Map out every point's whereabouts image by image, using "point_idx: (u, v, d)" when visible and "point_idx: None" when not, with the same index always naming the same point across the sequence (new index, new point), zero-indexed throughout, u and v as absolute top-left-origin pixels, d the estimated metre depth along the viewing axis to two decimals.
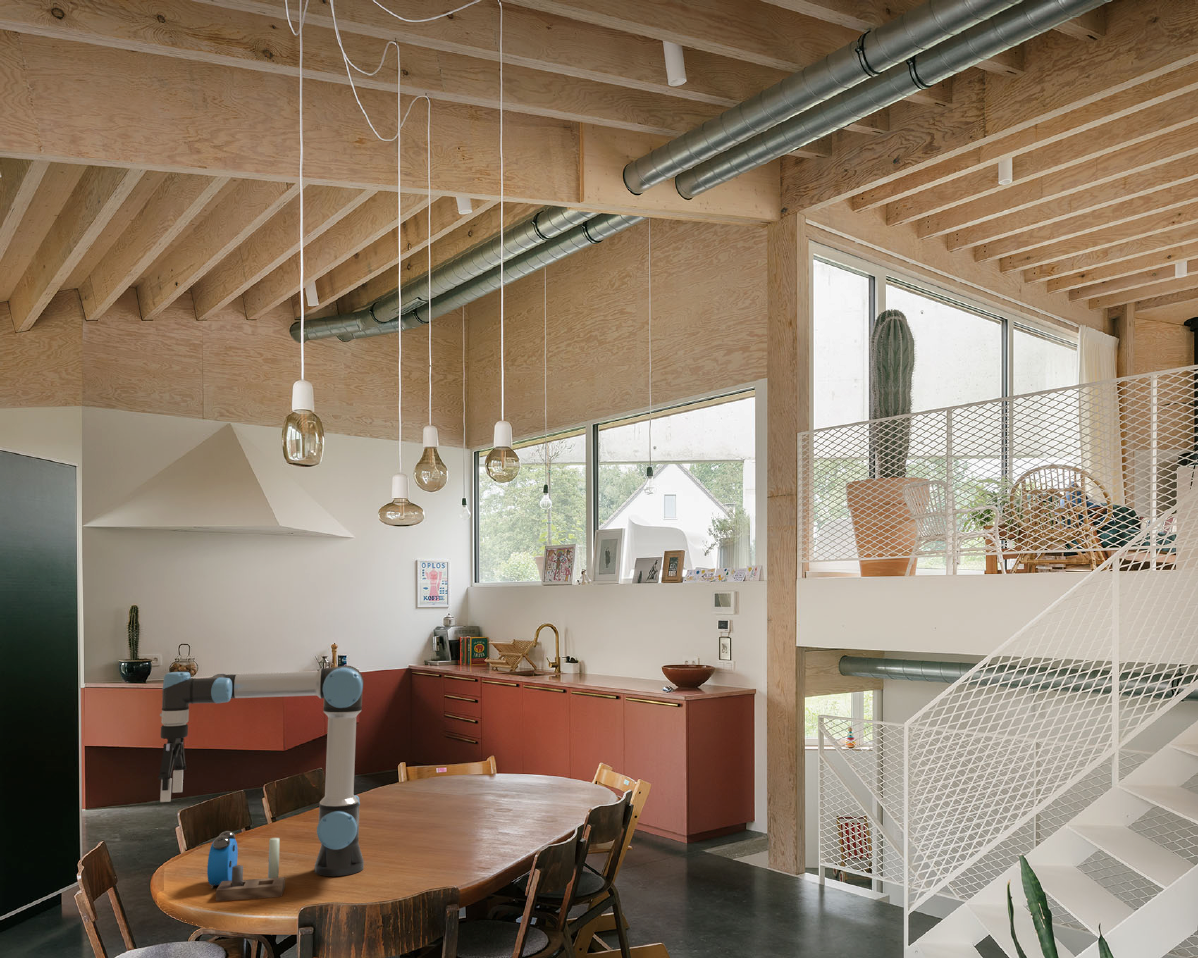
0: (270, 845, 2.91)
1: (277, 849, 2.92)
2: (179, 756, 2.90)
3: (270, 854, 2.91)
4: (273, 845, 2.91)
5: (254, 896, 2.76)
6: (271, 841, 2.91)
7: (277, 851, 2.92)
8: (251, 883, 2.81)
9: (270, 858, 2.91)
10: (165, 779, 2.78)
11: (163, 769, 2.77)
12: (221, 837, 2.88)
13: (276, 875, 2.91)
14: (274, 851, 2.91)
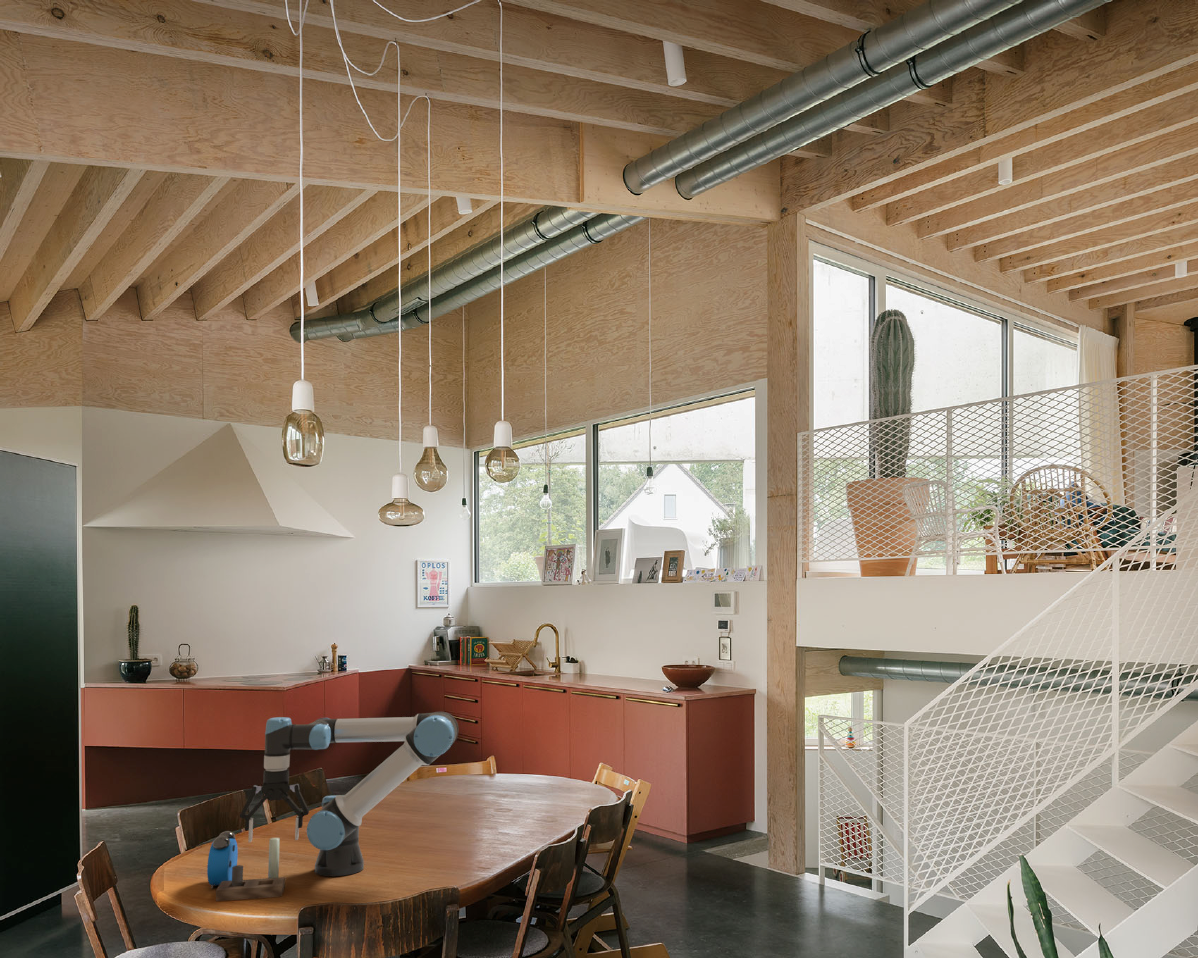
0: (270, 845, 2.91)
1: (277, 849, 2.92)
2: (287, 802, 2.94)
3: (270, 854, 2.91)
4: (273, 845, 2.91)
5: (254, 896, 2.76)
6: (271, 841, 2.91)
7: (277, 851, 2.92)
8: (251, 883, 2.81)
9: (270, 858, 2.91)
10: (245, 819, 2.92)
11: None
12: (221, 837, 2.88)
13: (276, 875, 2.91)
14: (274, 851, 2.91)
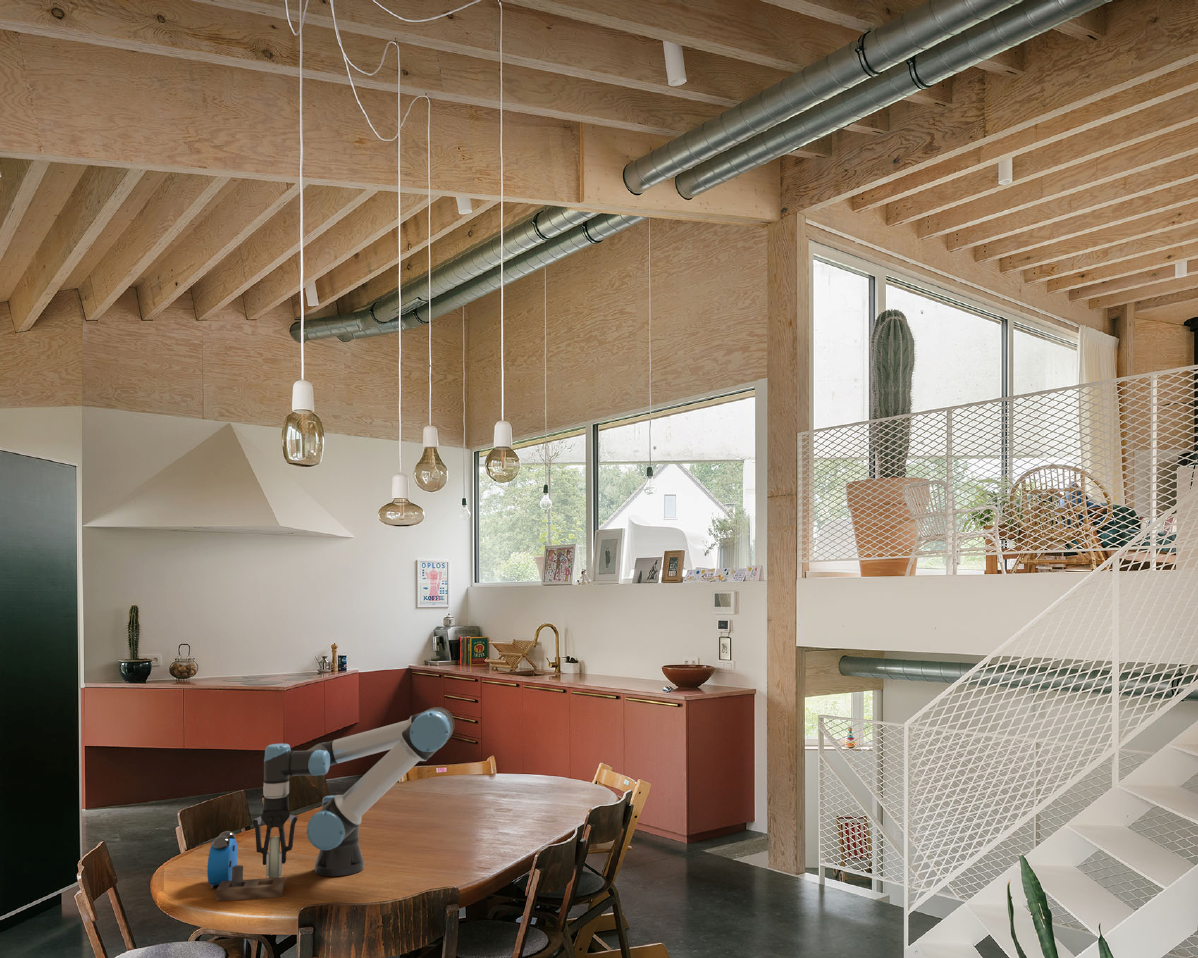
0: (271, 844, 2.91)
1: (278, 848, 2.92)
2: (279, 832, 2.92)
3: (271, 853, 2.91)
4: (273, 844, 2.91)
5: (254, 896, 2.76)
6: (271, 840, 2.91)
7: (278, 850, 2.92)
8: (251, 883, 2.81)
9: (271, 857, 2.91)
10: (262, 853, 2.91)
11: None
12: (221, 837, 2.88)
13: (277, 874, 2.91)
14: (274, 850, 2.91)
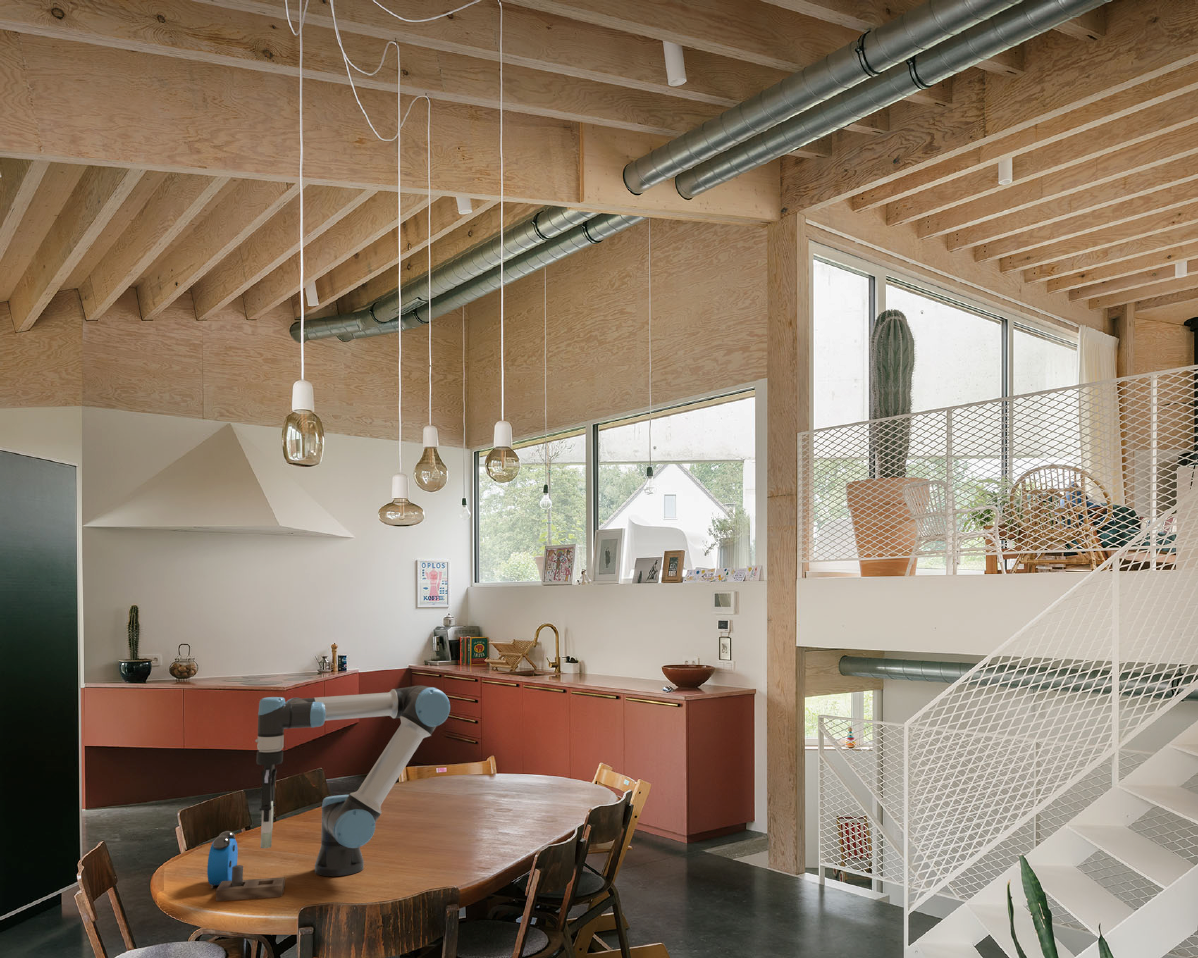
0: None
1: None
2: (272, 786, 2.86)
3: None
4: (272, 807, 2.84)
5: (254, 896, 2.76)
6: (271, 803, 2.84)
7: None
8: (251, 883, 2.81)
9: None
10: (266, 810, 2.81)
11: (264, 802, 2.79)
12: (221, 837, 2.88)
13: None
14: (272, 813, 2.84)
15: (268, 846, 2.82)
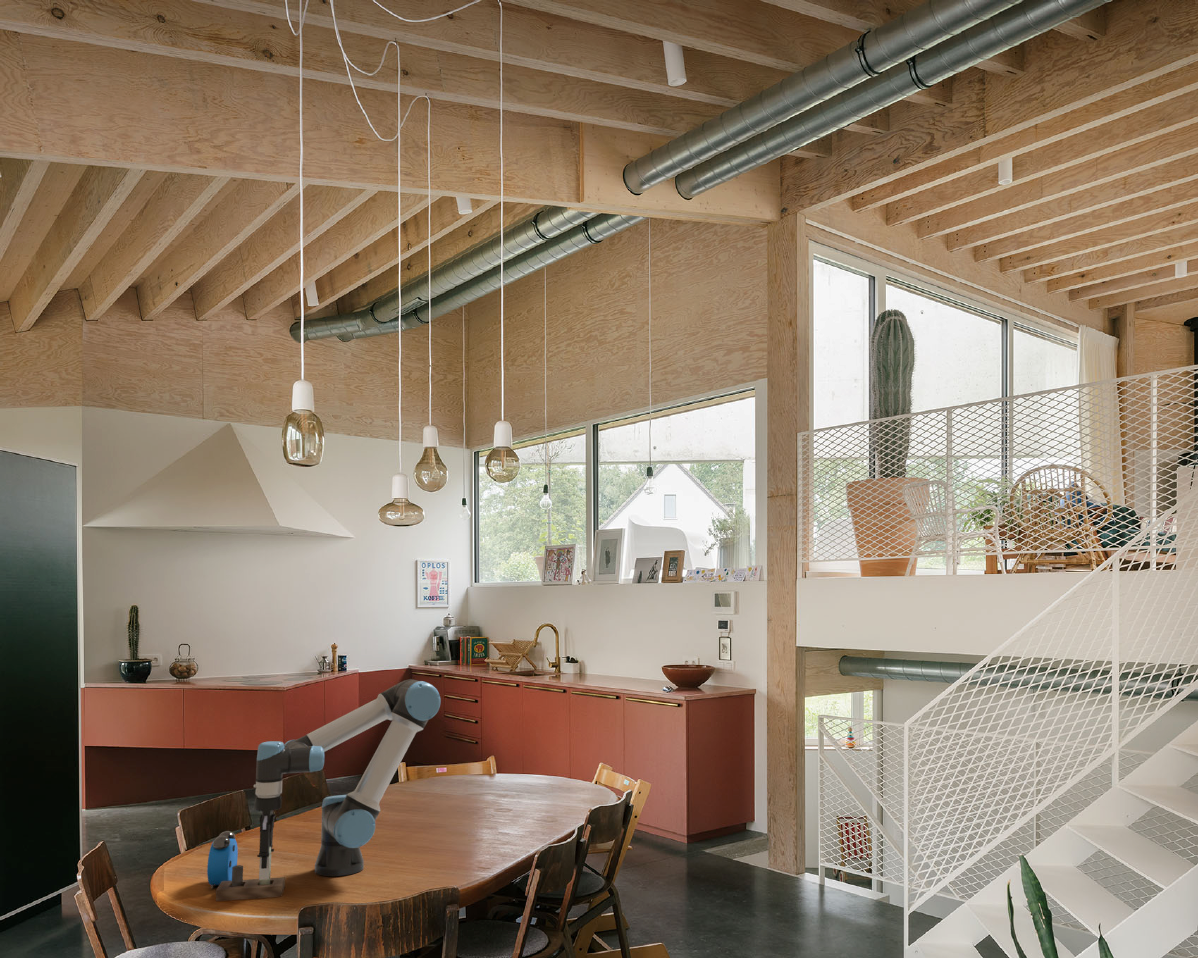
0: None
1: None
2: (270, 831, 2.85)
3: None
4: (270, 853, 2.83)
5: (254, 896, 2.76)
6: (269, 849, 2.82)
7: None
8: (251, 883, 2.81)
9: None
10: (264, 857, 2.79)
11: (262, 848, 2.78)
12: (221, 837, 2.88)
13: None
14: (270, 859, 2.83)
15: None
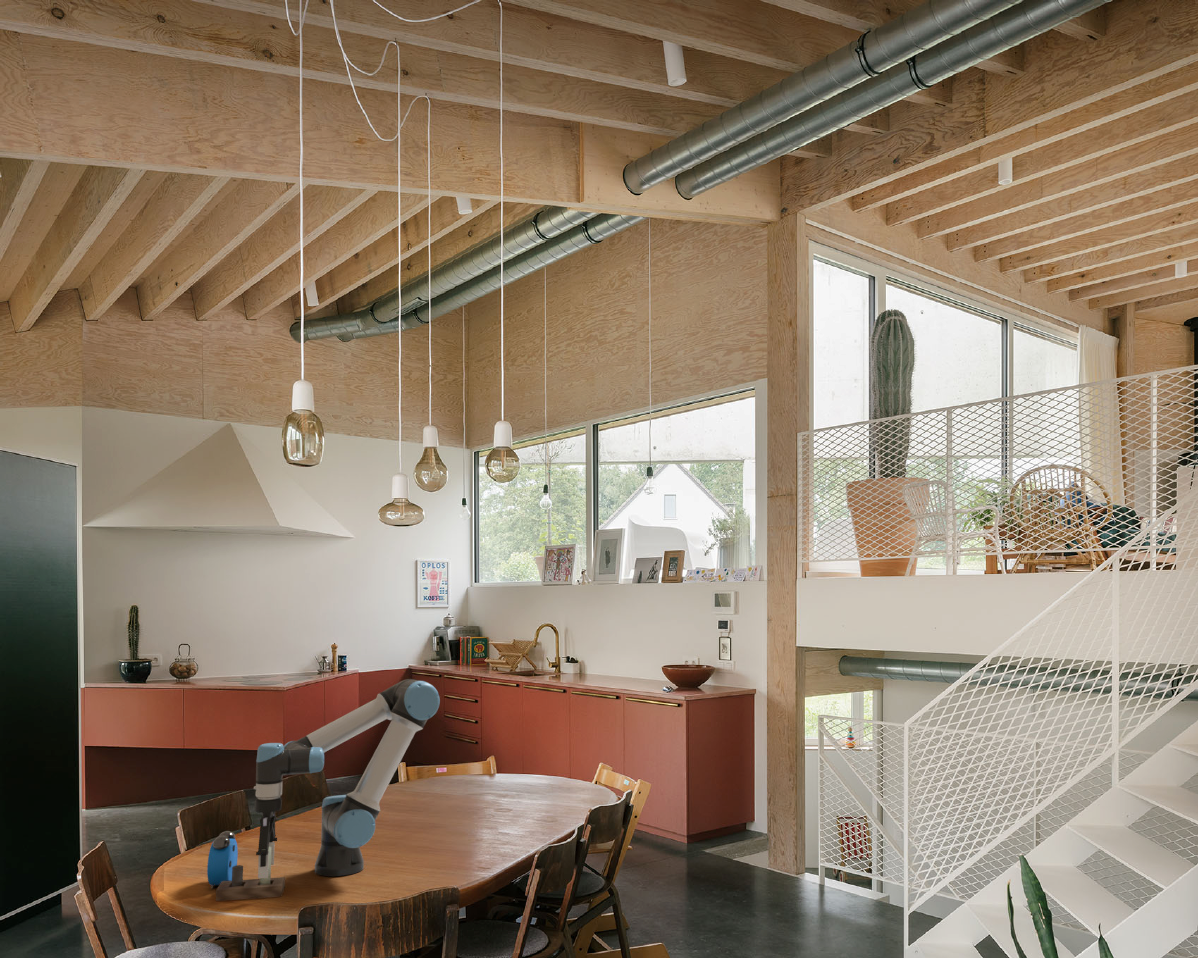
0: (269, 853, 2.82)
1: None
2: (272, 829, 2.87)
3: (269, 862, 2.82)
4: None
5: (254, 896, 2.76)
6: (270, 849, 2.82)
7: None
8: (251, 883, 2.81)
9: (269, 867, 2.81)
10: (263, 855, 2.75)
11: (261, 845, 2.74)
12: (221, 837, 2.88)
13: None
14: None
15: None
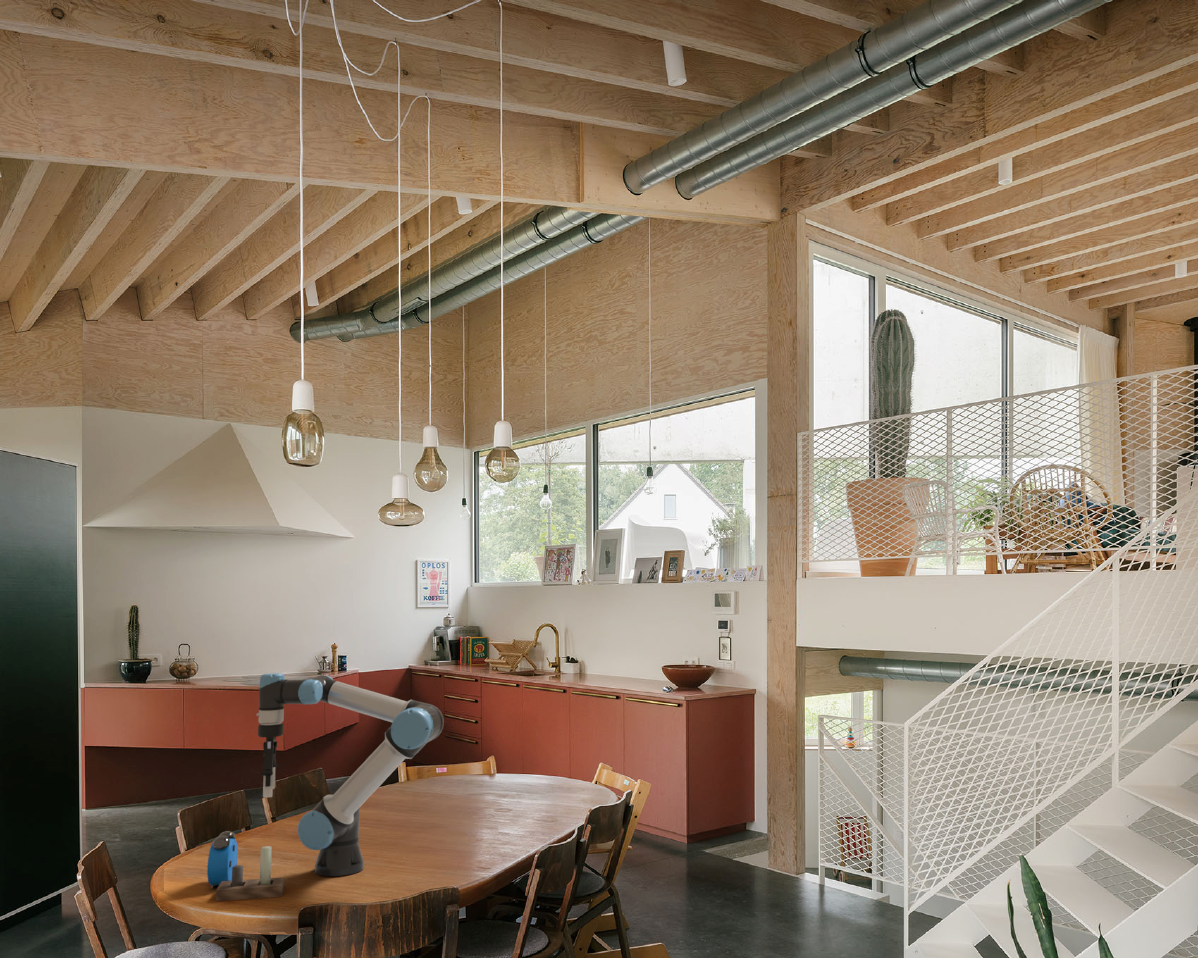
0: (269, 853, 2.82)
1: None
2: None
3: (269, 862, 2.82)
4: None
5: (254, 896, 2.76)
6: (270, 849, 2.82)
7: None
8: (251, 883, 2.81)
9: (269, 867, 2.81)
10: (268, 776, 2.90)
11: (267, 766, 2.90)
12: (221, 837, 2.88)
13: None
14: None
15: None
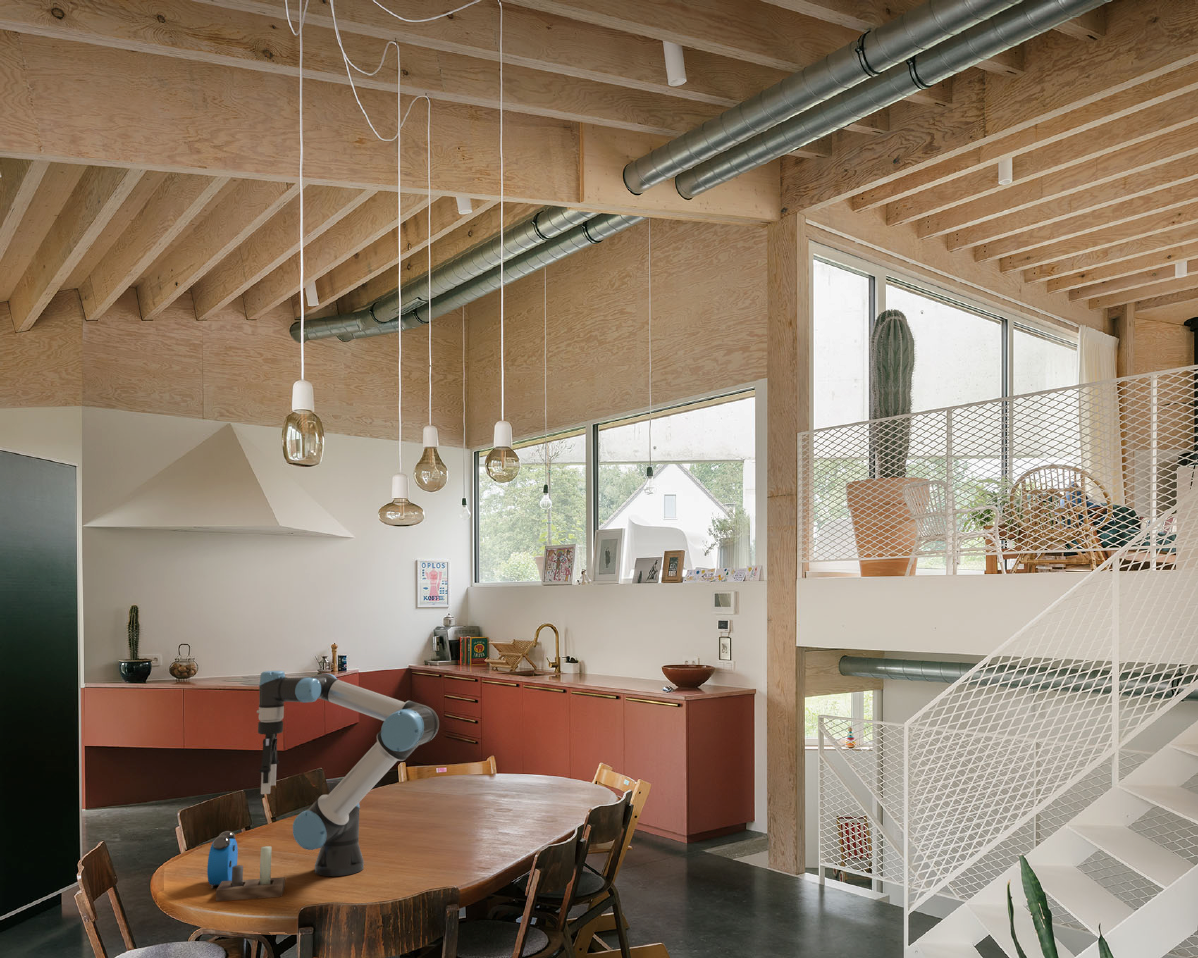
0: (269, 853, 2.82)
1: None
2: (274, 751, 3.05)
3: (269, 862, 2.82)
4: None
5: (254, 896, 2.76)
6: (270, 849, 2.82)
7: None
8: (251, 883, 2.81)
9: (269, 867, 2.81)
10: (266, 772, 2.92)
11: (264, 763, 2.92)
12: (221, 837, 2.88)
13: None
14: None
15: None
